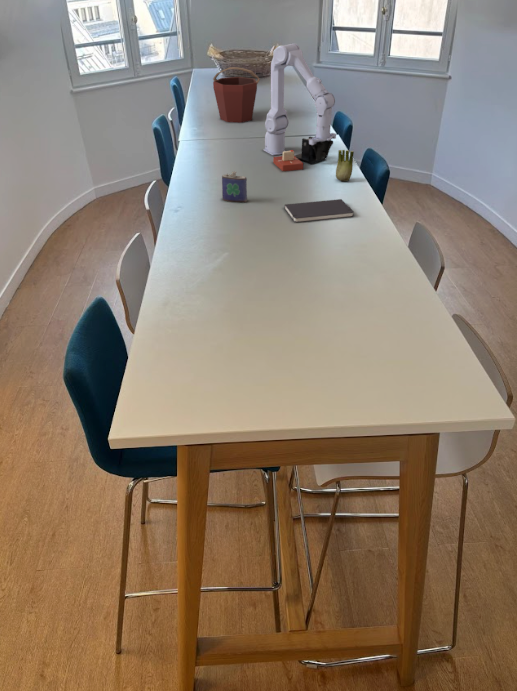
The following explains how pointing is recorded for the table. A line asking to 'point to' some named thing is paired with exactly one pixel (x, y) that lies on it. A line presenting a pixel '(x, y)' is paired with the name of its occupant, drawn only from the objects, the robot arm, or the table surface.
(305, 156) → the black lever mount
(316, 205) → the notebook
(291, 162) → the dial panel
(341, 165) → the fennel bulb
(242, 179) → the flask
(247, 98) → the bucket
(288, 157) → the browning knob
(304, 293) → the table surface
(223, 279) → the table surface
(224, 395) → the table surface
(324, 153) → the lever
